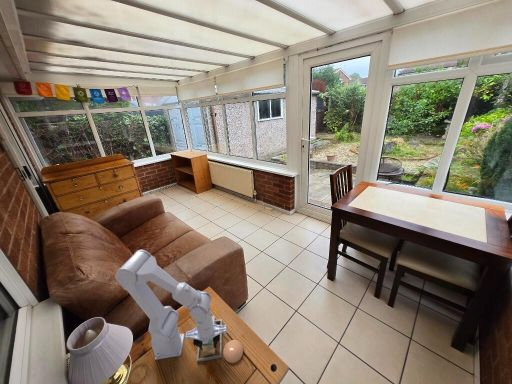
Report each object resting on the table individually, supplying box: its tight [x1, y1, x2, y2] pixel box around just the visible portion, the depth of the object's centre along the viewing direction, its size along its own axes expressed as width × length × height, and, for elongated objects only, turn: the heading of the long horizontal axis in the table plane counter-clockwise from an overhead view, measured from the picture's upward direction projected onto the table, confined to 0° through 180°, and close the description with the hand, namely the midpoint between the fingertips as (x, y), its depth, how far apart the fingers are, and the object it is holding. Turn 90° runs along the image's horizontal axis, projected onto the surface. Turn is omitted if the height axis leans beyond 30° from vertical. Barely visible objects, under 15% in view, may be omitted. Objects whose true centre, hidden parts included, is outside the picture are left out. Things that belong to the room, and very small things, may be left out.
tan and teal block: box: [202, 338, 216, 357], centre depth 78 cm, size 4×4×6 cm
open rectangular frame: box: [196, 318, 223, 363], centre depth 82 cm, size 9×14×1 cm, turn 8°
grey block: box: [212, 315, 217, 324], centre depth 85 cm, size 4×4×6 cm
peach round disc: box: [222, 339, 244, 364], centre depth 78 cm, size 8×8×1 cm
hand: (209, 346), depth 78 cm, fingers open, 4 cm apart
